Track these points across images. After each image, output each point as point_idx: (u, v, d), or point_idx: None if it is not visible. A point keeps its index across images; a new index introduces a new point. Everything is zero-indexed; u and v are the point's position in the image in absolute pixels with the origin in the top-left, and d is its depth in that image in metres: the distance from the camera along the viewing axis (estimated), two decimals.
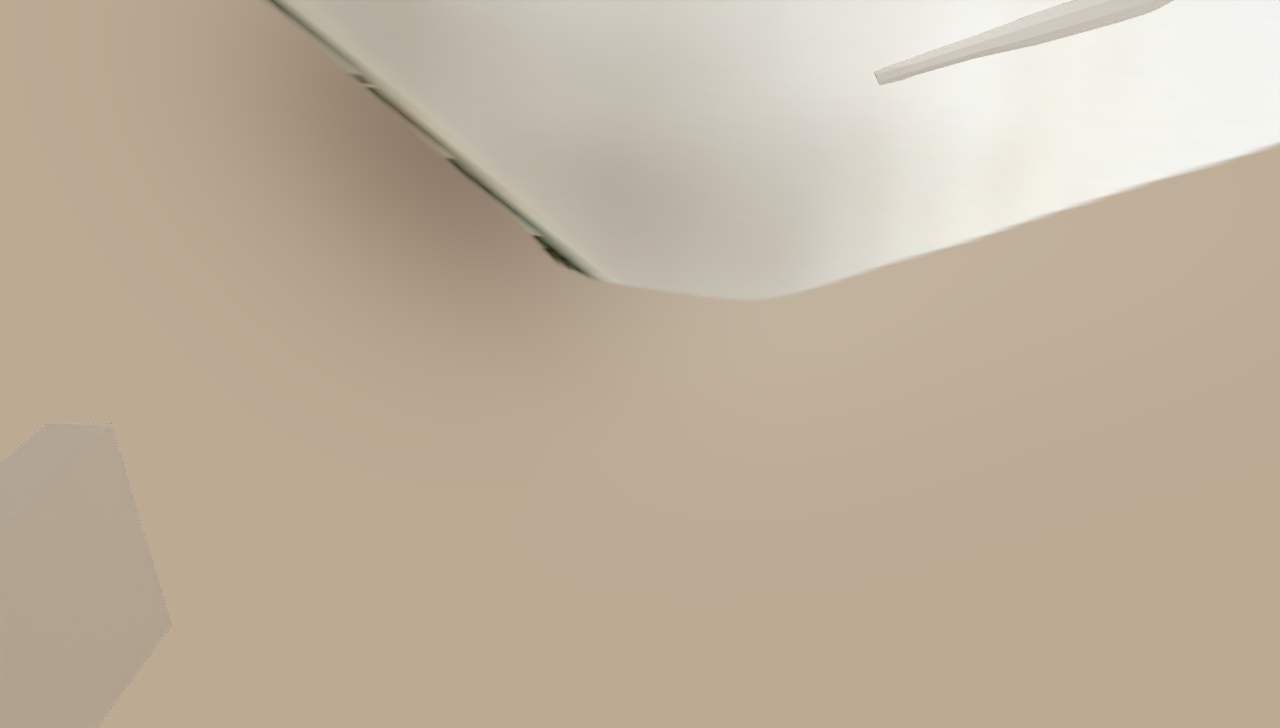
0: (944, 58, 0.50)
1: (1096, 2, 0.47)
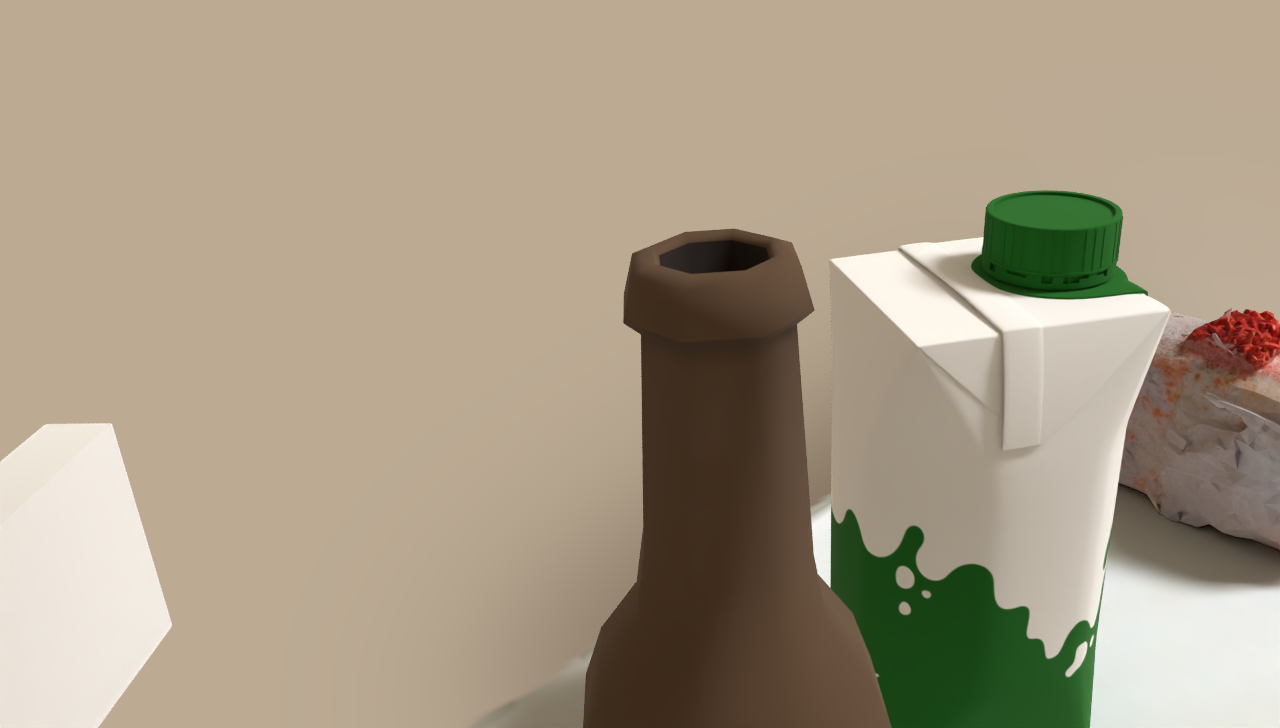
0: None
1: None
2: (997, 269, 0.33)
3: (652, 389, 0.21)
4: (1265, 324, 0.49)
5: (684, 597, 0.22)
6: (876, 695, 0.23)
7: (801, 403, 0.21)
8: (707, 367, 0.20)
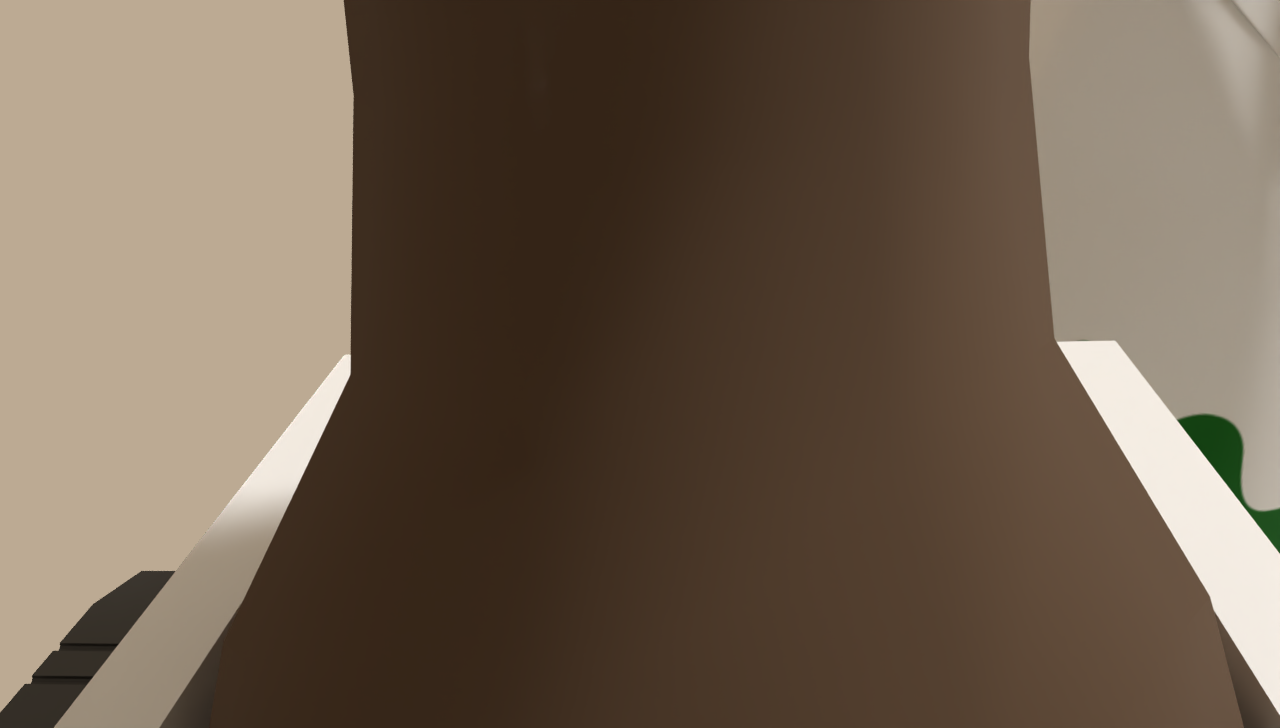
0: None
1: None
2: None
3: None
4: None
5: (489, 174, 0.05)
6: (1218, 635, 0.06)
7: None
8: None
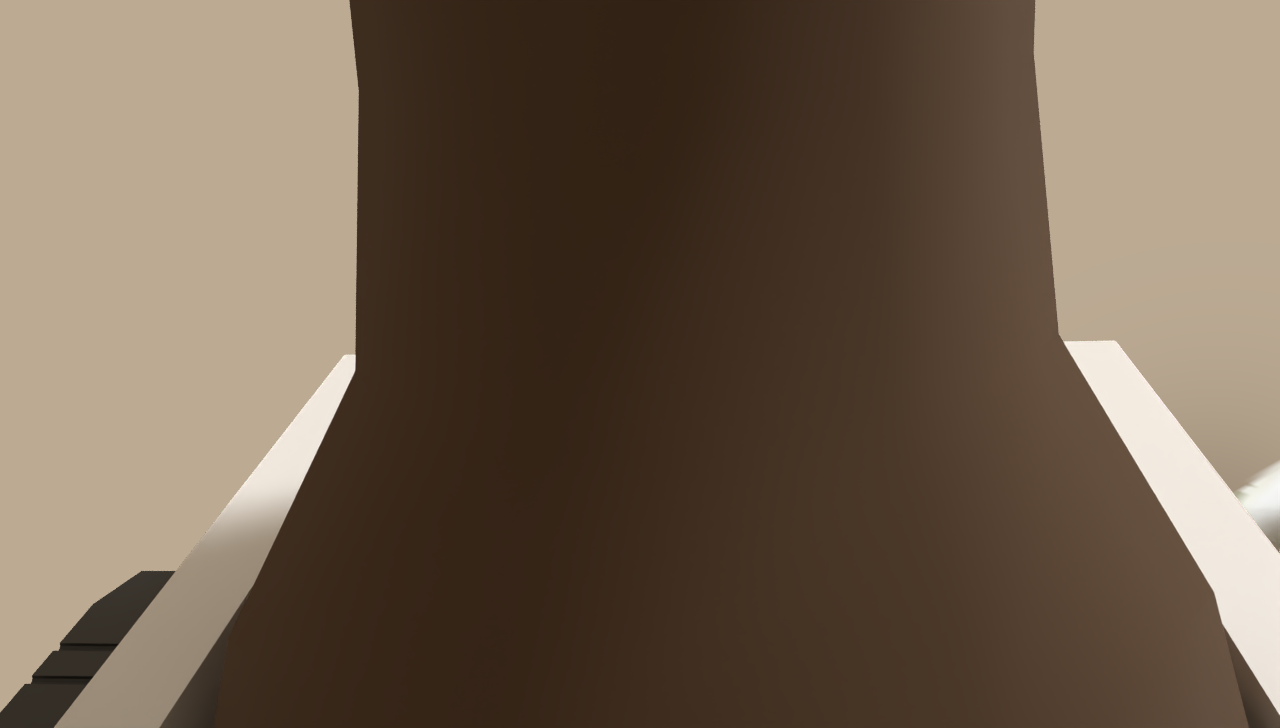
0: None
1: None
2: None
3: None
4: None
5: (496, 170, 0.05)
6: (1221, 630, 0.06)
7: None
8: None
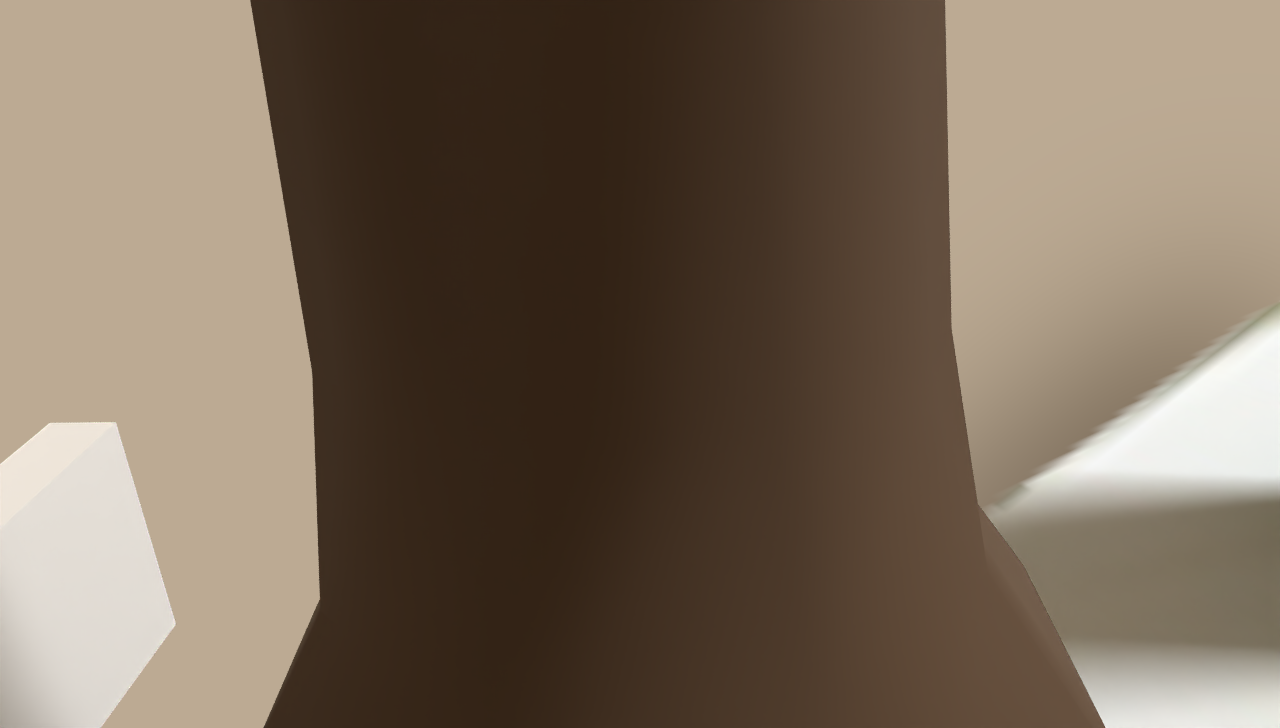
0: None
1: None
2: None
3: None
4: None
5: (433, 482, 0.05)
6: None
7: None
8: None
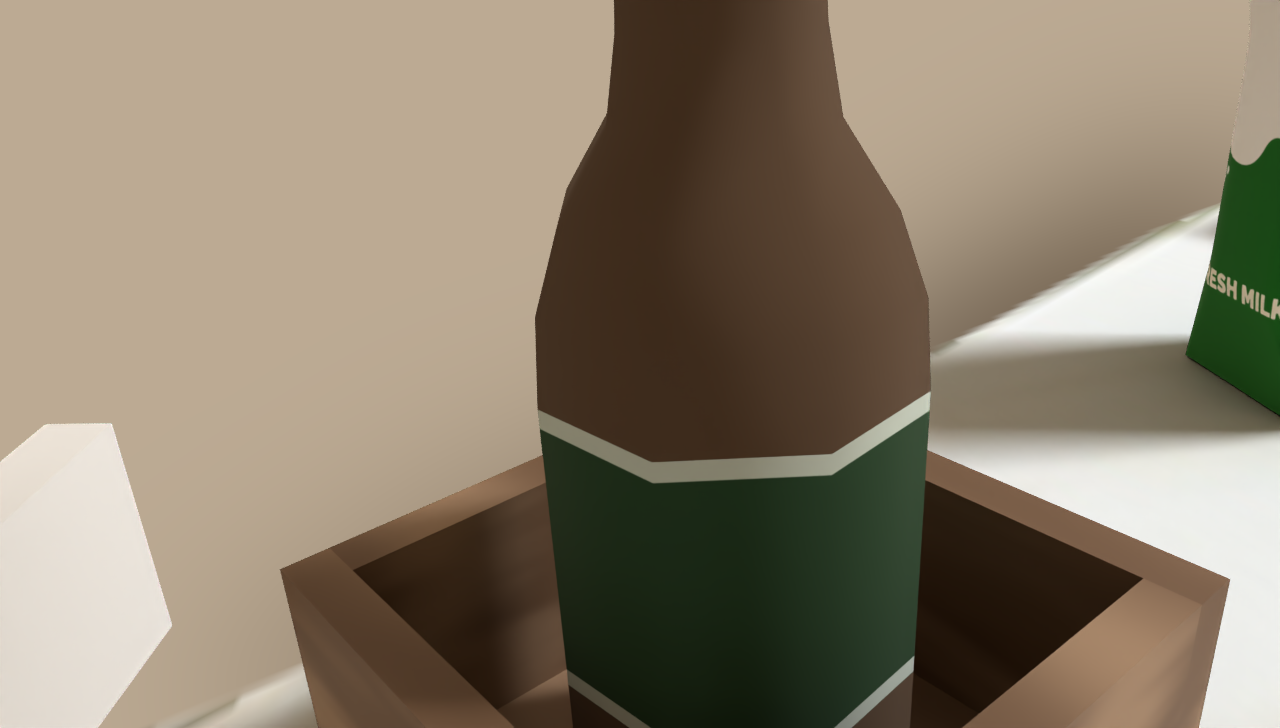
0: None
1: None
2: None
3: None
4: None
5: (664, 54, 0.17)
6: (904, 224, 0.19)
7: None
8: None
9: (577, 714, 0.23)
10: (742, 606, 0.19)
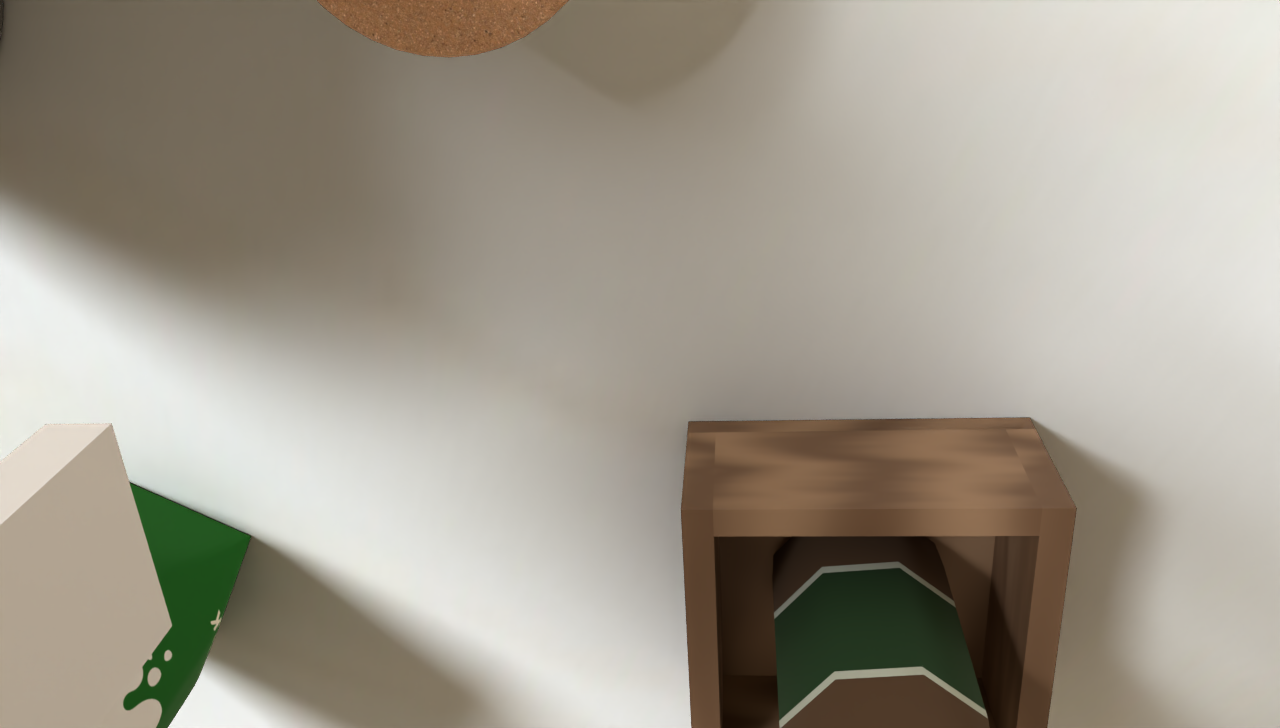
0: None
1: None
2: None
3: None
4: None
5: None
6: None
7: None
8: None
9: None
10: (941, 639, 0.40)
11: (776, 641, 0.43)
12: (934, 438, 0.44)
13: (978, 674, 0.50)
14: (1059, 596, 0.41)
